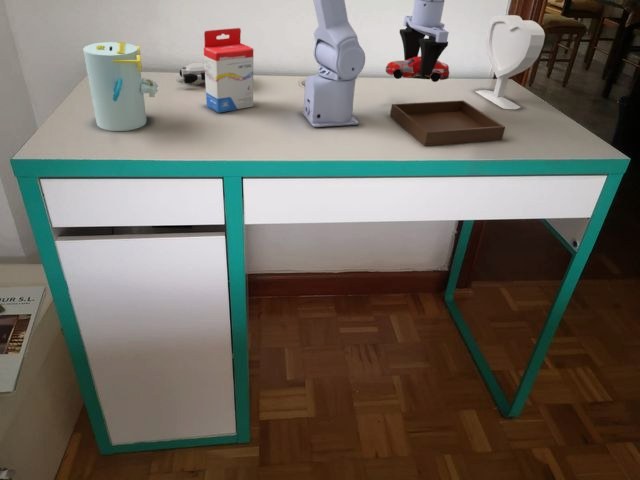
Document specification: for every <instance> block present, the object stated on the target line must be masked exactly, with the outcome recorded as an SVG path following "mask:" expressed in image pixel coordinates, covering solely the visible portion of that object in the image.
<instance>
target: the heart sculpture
mask: <svg viewBox="0 0 640 480" xmlns="http://www.w3.org/2000/svg"><path fill="white" fill-rule="evenodd" d="M545 38H546V34H545V31H544V29H543V27H542V26H541V25H540V24H539V23H537V22H536V21H534V20H532V19H531V20H527V19H524V20H523V19H522V17H521V16H520V15H517V14H516V15H515V14H514V15H513V14H499V15H495V16H492V18H490V19H489V23H488V26H487V29H486V37H485V45H486V46H485V49H486V54H487V57H488V58H487V59H488V61H489V64H490V66H491V68H492V70H493V73H494V75H495V77H496V82H495V86H494V90H488V89H487V90H486V89H479V90H475V93H476V94H478V95H480V96H481V97H483V98H485V99H486V100H487V101H490V102H492V103H493V104H495V105H496V106H498V107H500V108H502V109H504V110H518V109H521V108H522V107H521V106H520V105H518V104H517V103H515V102H513V101H511V100H510V99H508V98H506V97H504V96H505V93H506V88H507V85H508V81H509V78H511V77H513V76H516V75H518V74H520V73H523V72H525V71H526V70H528V69H529V68H531V67H532V66H533V64H534V63H536V61H537V59H538V58H539V57H540V54H541V51H542V49H543V47H544V43H545Z"/></svg>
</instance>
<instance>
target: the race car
mask: <svg viewBox="0 0 640 480" xmlns="http://www.w3.org/2000/svg"><path fill="white" fill-rule="evenodd" d="M420 65H421V55H418V57H413V58H411V59H410V58H409V59H408V60H394V61H390V62H388V63H387V65H386V67H385V72H386V74H388V75H390V76H393V77H394V78H395V79H396V80H399V79H402V78H407V79H421V80H431V81H432V82H433V83H437V82H439V81H444V80H448V79H449V78H450V77H449V76H450V67H449V65H448V64H447V63H445V62H442V61H440V60H439V59H438V60H437V62H436V64H435V66H434V68H433V71H432V73H431V75H426V76H422V75H420Z"/></svg>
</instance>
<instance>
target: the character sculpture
mask: <svg viewBox="0 0 640 480" xmlns="http://www.w3.org/2000/svg"><path fill="white" fill-rule="evenodd" d="M82 51H83V55H84V61H85V67H86V72H87V78H88V83H89V91H90V94H91V100H92V106H93V111H94V112H93V113H94V117H95V122H96V125H97V127H98V128H100V129H102V130H105V131H110V132H126V131H133V130H137V129H140V128H142V127H144V126H145V125H146V124H147V121H148V119H147V112H146V104H145V96H144V95H145V94H148V97H150V98H155V96H156V95H155V94H157V93H158V92H159V90H158V87H159V85H158V83H157V81H156V80H154V79H152V80H151V79H150V78H145V77H142V72H143V68H142V67H143V66H142V55H141V47H140V45H135V44H131V43H126V42H124V41H123V42H122V41H118V42H117V41H104V42H96V43H91V44H87V45H85V46H84V47H83V48H82Z"/></svg>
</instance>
